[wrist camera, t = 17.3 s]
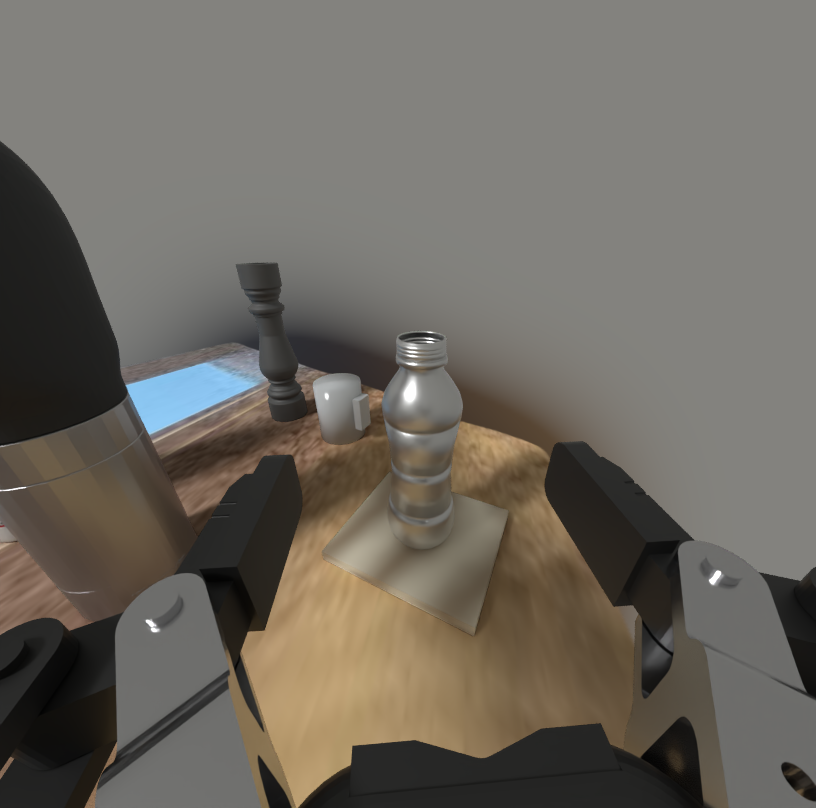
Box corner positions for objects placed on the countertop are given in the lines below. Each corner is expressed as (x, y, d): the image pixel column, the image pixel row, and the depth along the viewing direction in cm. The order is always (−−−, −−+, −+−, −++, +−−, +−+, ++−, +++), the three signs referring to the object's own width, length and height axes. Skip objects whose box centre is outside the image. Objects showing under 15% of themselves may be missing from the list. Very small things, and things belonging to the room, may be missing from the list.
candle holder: (269, 424, 54) (229, 265, 42) (273, 408, 59) (237, 263, 47) (307, 418, 55) (277, 264, 44) (307, 403, 60) (280, 262, 49)
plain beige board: (323, 559, 30) (321, 551, 30) (390, 478, 41) (389, 471, 40) (473, 636, 24) (475, 627, 24) (507, 518, 34) (508, 510, 34)
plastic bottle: (419, 497, 36) (419, 322, 27) (467, 532, 31) (486, 336, 22) (375, 529, 32) (357, 337, 23) (422, 574, 27) (423, 358, 18)
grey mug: (312, 438, 50) (302, 386, 45) (339, 418, 55) (333, 370, 51) (354, 451, 46) (348, 396, 42) (379, 428, 52) (375, 378, 48)
